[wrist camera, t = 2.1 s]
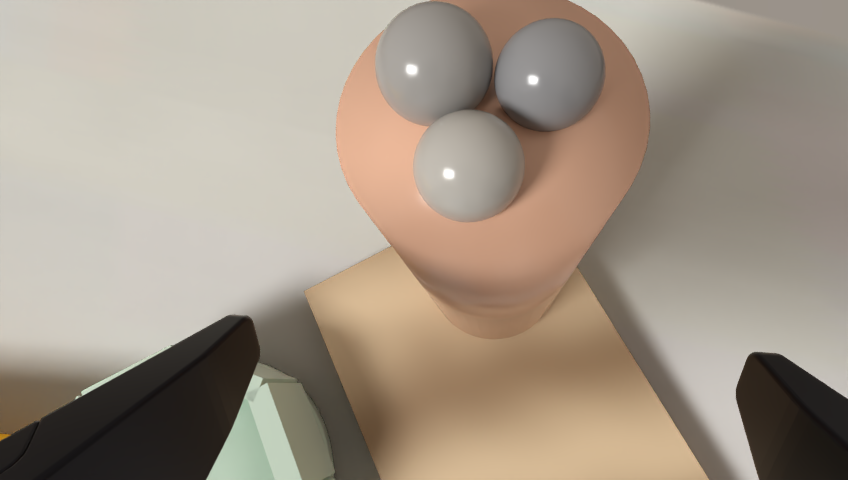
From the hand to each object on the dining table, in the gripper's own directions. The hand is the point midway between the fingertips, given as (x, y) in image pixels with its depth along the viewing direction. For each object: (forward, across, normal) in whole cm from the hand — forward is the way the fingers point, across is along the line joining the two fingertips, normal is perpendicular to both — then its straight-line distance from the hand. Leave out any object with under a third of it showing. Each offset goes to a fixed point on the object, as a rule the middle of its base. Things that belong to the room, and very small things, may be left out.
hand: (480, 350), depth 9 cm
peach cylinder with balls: (+9, 0, +4) cm, 10 cm away
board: (+7, 0, +8) cm, 11 cm away
